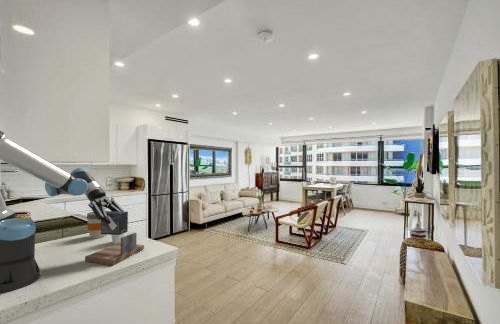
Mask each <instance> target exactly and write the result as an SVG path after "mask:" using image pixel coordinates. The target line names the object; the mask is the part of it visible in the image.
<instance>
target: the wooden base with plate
mask: <svg viewBox="0 0 500 324" xmlns="http://www.w3.org/2000/svg"><path fill="white" fill-rule="evenodd" d="M143 249H144V250H145V244H137V232H133V233H130V234H126V236H124V237H122V238H121V243H117V244H115V243H114V244H112V245H110V246H107V247H105V248H103V249H100V250H98V251H95V252H93V253H91V254H88V255H85V256H84V262H85V263H89V264H99V265H101V264H102V265H107V266H115V265H118V264H119V263H121V262H124V261H125V260H128V259H129V258H131V257H133V256H134V254H135V255H137V254H139V253H140V251H141V252H142V250H143ZM144 250H143V251H144ZM138 252H139V253H138ZM136 253H137V254H136ZM132 255H133V256H132ZM130 256H131V257H130Z"/></svg>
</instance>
